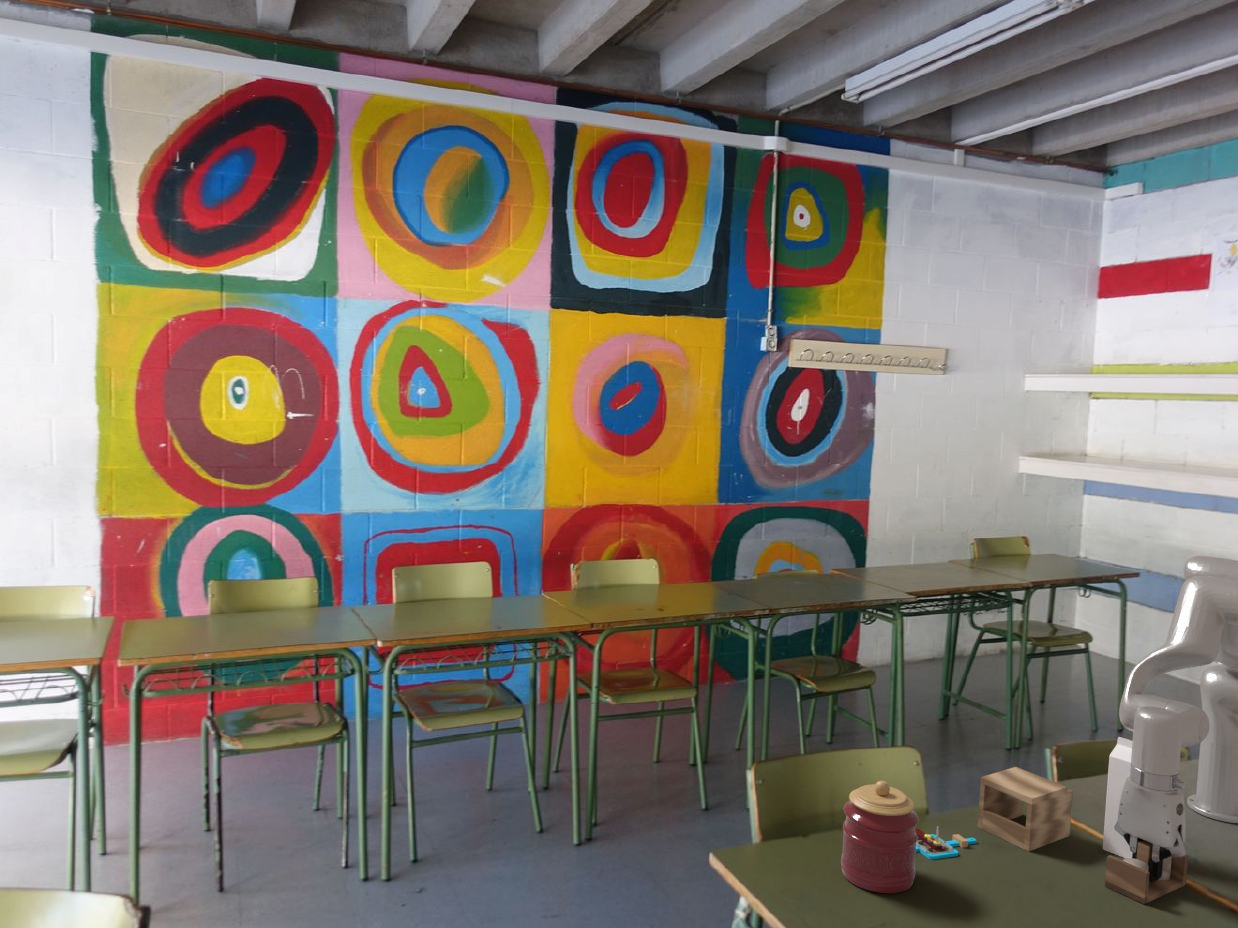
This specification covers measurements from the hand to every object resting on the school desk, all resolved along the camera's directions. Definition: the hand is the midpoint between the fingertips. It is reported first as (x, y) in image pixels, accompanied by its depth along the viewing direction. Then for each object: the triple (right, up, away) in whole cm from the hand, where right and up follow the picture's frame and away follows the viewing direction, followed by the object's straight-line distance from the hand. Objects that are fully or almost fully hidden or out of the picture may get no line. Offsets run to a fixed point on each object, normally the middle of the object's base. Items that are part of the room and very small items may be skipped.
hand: (1146, 875), depth 169 cm
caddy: (0, -2, 0) cm, 2 cm away
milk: (+3, -1, +13) cm, 13 cm away
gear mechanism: (-35, 0, +12) cm, 37 cm away
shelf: (-13, 0, +20) cm, 24 cm away
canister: (-49, 0, 0) cm, 49 cm away
